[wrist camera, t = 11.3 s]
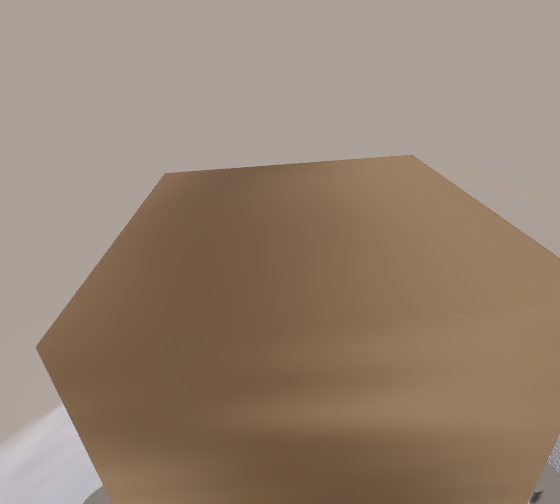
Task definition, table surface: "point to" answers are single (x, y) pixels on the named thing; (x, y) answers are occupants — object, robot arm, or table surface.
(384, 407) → the pillar
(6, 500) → the table surface
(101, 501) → the robot arm
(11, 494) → the table surface
